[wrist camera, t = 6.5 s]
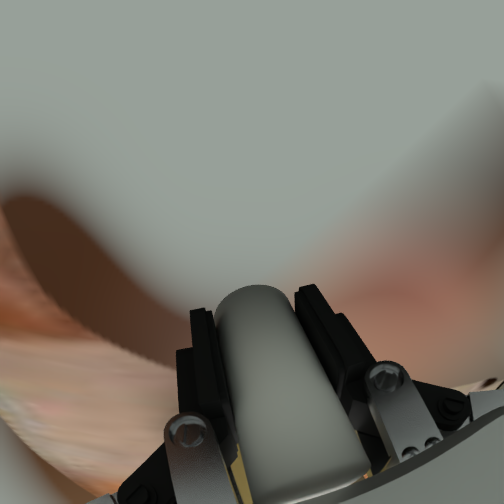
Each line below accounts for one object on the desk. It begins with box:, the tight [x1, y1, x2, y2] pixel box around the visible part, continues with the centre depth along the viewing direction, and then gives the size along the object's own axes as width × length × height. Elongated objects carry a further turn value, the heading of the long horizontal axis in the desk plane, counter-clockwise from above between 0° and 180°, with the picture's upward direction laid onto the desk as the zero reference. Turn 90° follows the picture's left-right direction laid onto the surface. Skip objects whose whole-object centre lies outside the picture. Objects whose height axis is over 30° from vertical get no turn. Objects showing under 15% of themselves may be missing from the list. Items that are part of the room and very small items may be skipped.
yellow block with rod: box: [214, 285, 371, 504], centre depth 12 cm, size 6×17×7 cm, turn 6°
